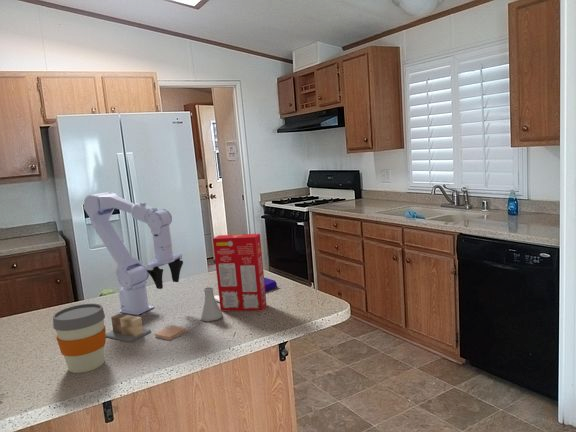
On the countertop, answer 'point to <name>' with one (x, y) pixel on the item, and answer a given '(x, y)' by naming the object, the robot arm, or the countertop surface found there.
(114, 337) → the plate
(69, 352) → the reusable coffee cup
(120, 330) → the tall tan prism
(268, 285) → the spray bottle
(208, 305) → the flask
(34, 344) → the countertop surface
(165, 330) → the tile
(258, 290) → the food packaging
